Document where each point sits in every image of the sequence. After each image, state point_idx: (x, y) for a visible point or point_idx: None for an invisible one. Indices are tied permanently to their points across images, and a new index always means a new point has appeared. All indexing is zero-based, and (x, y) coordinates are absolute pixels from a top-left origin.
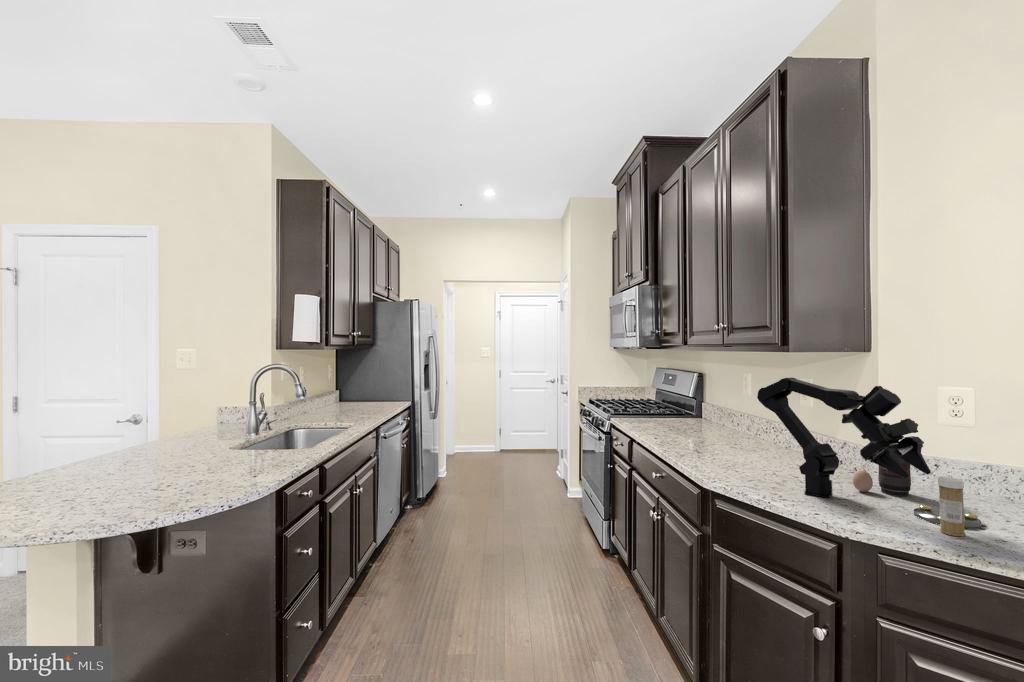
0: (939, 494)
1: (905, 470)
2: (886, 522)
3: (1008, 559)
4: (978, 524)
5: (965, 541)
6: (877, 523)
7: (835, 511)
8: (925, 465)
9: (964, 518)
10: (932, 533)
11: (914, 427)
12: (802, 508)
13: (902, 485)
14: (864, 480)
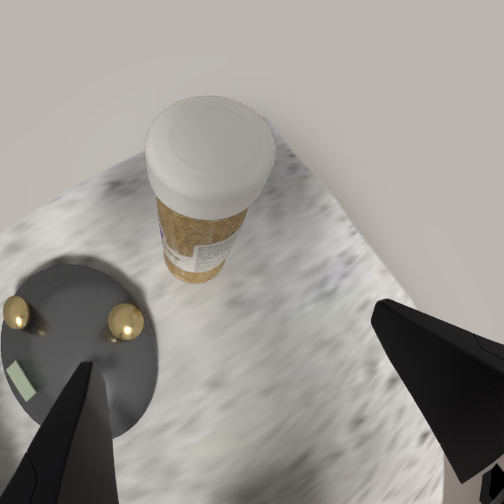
0: (233, 228)
1: (410, 316)
2: (309, 374)
3: None
4: (59, 265)
5: None
6: (343, 368)
7: (370, 464)
8: (78, 408)
9: (41, 317)
10: (256, 270)
11: None
12: (421, 472)
13: None
14: None
